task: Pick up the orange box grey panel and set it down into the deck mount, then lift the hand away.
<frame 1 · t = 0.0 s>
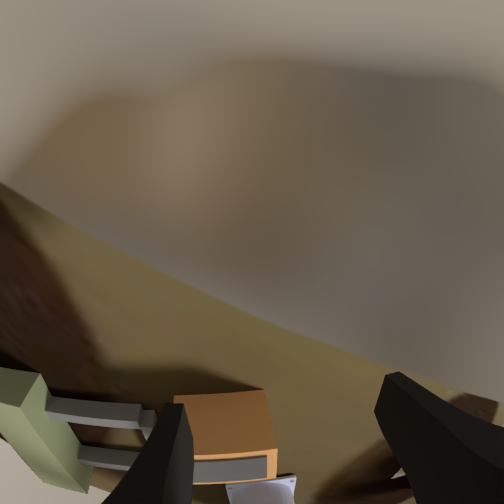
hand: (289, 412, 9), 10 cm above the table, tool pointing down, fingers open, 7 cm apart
orange box grey panel: (221, 411, 22), on the table
deck mount: (108, 431, 22), on the table
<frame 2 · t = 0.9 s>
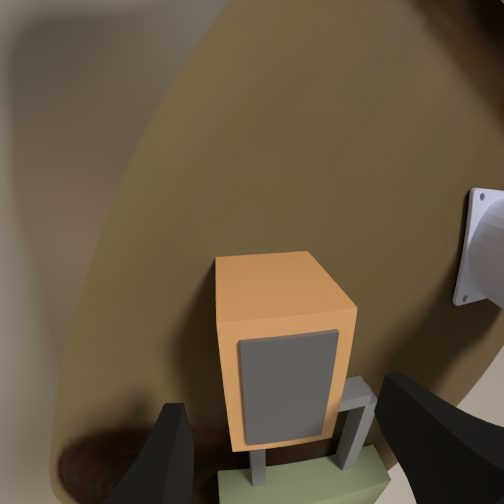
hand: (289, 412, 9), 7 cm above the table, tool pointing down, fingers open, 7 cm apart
orange box grey panel: (263, 316, 16), on the table
deck mount: (304, 433, 20), on the table
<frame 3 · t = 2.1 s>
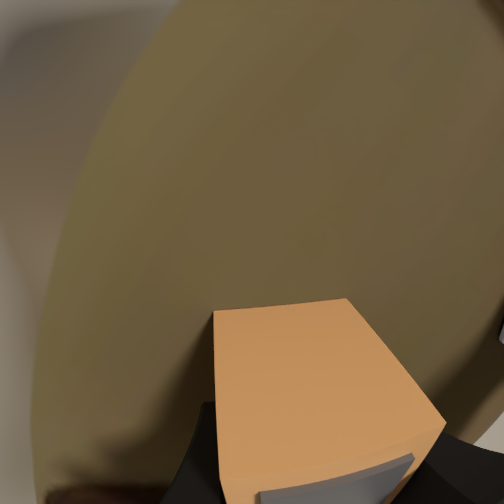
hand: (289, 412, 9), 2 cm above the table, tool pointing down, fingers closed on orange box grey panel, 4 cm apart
orange box grey panel: (280, 383, 11), on the table, touching gripper
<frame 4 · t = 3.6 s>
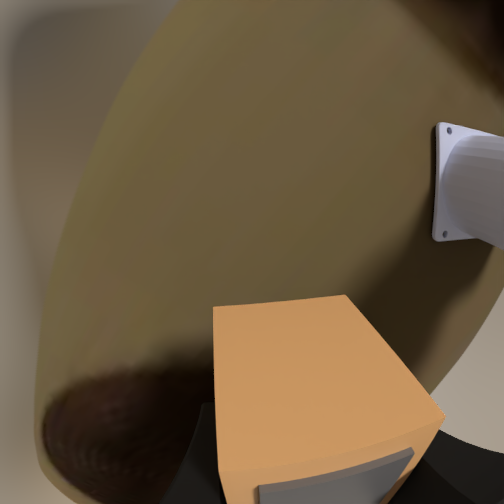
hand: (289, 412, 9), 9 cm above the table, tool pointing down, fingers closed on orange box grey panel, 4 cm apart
orange box grey panel: (280, 379, 11), point 7 cm above the table, touching gripper
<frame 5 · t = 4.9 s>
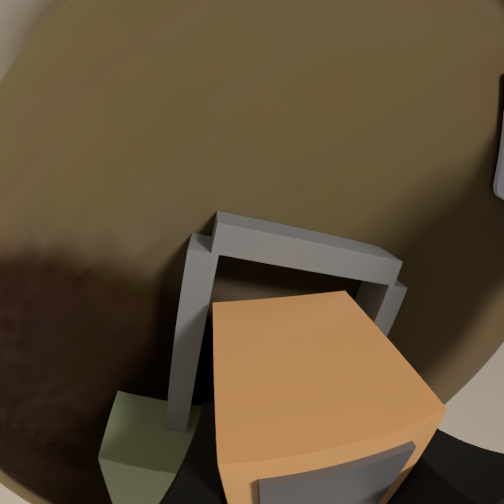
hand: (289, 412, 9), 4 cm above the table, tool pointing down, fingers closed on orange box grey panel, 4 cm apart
orange box grey panel: (280, 376, 11), point 2 cm above the table, touching gripper
deck mount: (270, 345, 13), on the table
when the fingers open (3 cm above the table, at t = 5.6 s): orange box grey panel drops 1 cm, resting in deck mount.
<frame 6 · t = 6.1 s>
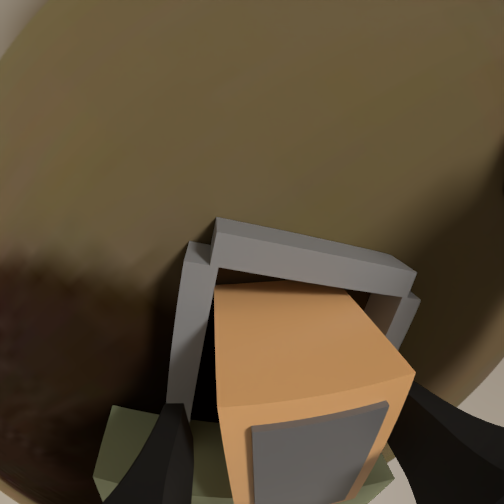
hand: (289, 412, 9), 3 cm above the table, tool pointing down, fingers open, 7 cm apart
orange box grey panel: (273, 355, 12), resting in deck mount
deck mount: (274, 360, 12), on the table
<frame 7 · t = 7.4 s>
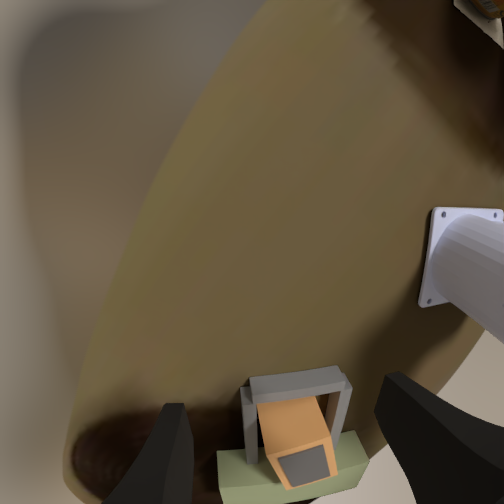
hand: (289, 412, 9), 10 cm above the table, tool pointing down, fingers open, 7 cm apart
orange box grey panel: (290, 414, 24), resting in deck mount
deck mount: (291, 416, 24), on the table
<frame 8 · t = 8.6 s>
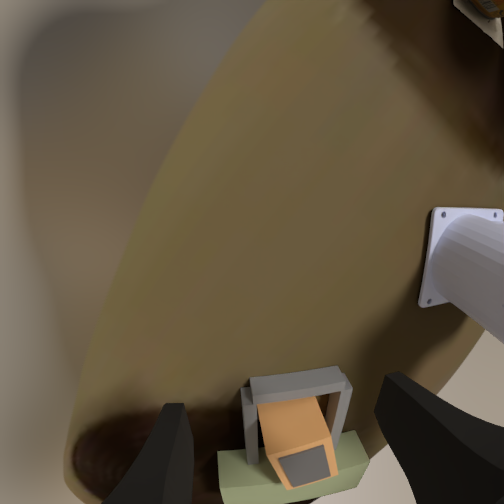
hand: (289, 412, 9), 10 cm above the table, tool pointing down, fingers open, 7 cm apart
orange box grey panel: (290, 414, 24), resting in deck mount
deck mount: (291, 416, 24), on the table
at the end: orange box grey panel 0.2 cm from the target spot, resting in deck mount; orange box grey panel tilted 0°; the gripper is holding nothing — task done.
